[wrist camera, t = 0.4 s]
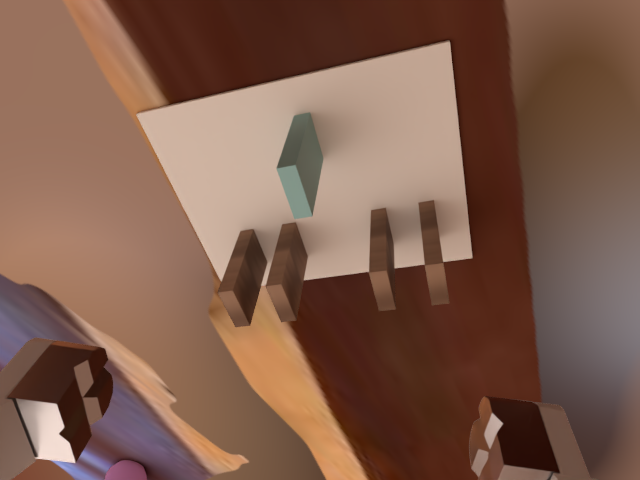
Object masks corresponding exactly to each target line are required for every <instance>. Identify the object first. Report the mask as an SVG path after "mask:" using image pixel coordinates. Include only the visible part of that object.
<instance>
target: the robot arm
mask: <svg viewBox="0 0 640 480" xmlns="http://www.w3.org/2000/svg"><path fill="white" fill-rule="evenodd" d="M107 361H108V358H107V354H106V351H105V349H104V348H101V347H96V346H89V345H83V344H77V343H70V342H64V341H55V340H49V339H42V338H33V339H31V340H29V341H28V342H26V344H25V345H24V346H23V347H22V348H21V349H20V350H19V351H18V353H17V354H16V355H15V356H14V357H13V358H12V359H11V361H10V362H9V363H8V364H7V365H6V366H5V367H4V368H3V370H2V371H1V372H0V480H11V479H13V478H14V477H15V476H17V475H18V474H19V473H21V472H22V471H23V470H24V469H26V468H27V467H28V466H30V465H31V464H32V463H33V462H35V461H36V459H35V458H37V459H46V460H55V461H64V462H73V463H76V461H77V460H78V458H79V456H80V455H81V453H82V451H83V450H84V448H85V446H86V445H87V443H88V441H89V439H90V438H91V436H92V433H91V428H90V425H92V424H93V423H95V422H96V421H98V420H99V419H101V418H102V417H103V415H104V414H105V412H106V410H107V408H108V406H109V403H110V400H111V397H112V393H113V380H112V375H111V374H110V373H109V372H108V371H107V370H106V369H105V368H104V366H105V364H106V362H107ZM479 412H480V419H478V420H477V421H475V422H474V423H473V426H472V430H471V433H470V443H469V452H470V462H471V468H472V470H473V471H474V472H475V473H476V474H477V475H478V477H479V479H478V480H598V479H592V478H590V476H589V473H588V470H587V468H586V465H585V463H584V460H583V458H582V455H581V452H580V450H579V448H578V445H577V442H576V440H575V437H574V434H573V432H572V430H571V427H570V424H569V422H568V419H567V416H566V414H565V411H564V409H563V408H562V407H561V406H560V405H554V404H546V403H538V402H534V403H533V402H531V401H523V400H514V399H505V398H497V397H488V396H485V397H484V398H483V399H482V401H481V403H480V406H479Z"/></svg>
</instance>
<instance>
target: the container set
mask: <svg viewBox="0 0 640 480" xmlns="http://www.w3.org/2000/svg"><path fill="white" fill-rule="evenodd" d="M105 480H147V476H146V472H145V470H144V467H143V466H142V465H141V464H139V463H137V462H135V461H131V460H122V461H120V462H118V463H116V464H115V465H113V466H112V467H111V468H110V469H109V470H108V472H107V474H106V477H105Z"/></svg>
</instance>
